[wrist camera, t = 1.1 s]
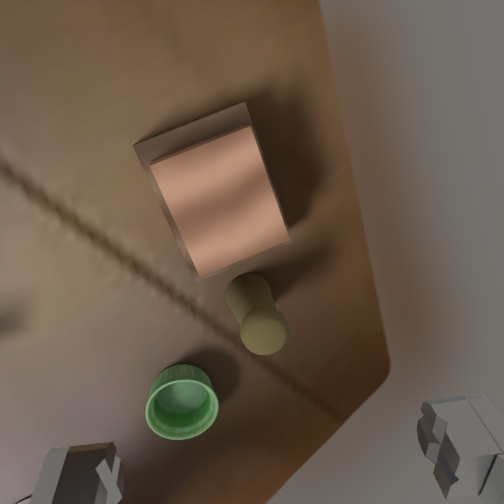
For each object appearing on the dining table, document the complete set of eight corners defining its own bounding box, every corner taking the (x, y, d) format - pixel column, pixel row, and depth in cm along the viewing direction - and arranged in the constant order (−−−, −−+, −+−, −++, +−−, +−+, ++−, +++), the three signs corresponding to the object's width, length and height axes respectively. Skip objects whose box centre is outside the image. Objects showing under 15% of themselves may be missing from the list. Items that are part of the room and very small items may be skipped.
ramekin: (178, 428, 57) (178, 452, 53) (132, 389, 53) (129, 412, 49) (228, 388, 56) (233, 409, 52) (184, 346, 53) (186, 366, 49)
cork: (270, 270, 52) (296, 308, 42) (272, 313, 54) (296, 359, 44) (223, 276, 51) (237, 316, 41) (226, 319, 53) (241, 368, 43)
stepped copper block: (284, 232, 51) (304, 252, 43) (193, 270, 50) (198, 297, 42) (238, 102, 45) (253, 100, 37) (135, 143, 44) (129, 148, 37)
